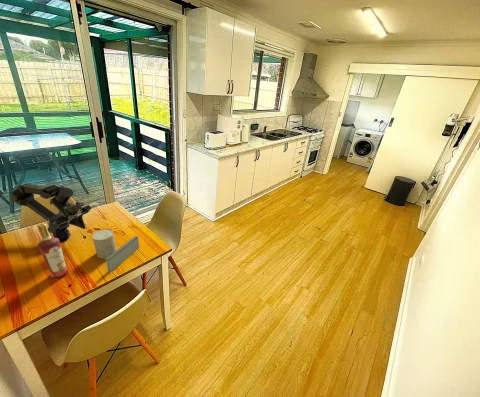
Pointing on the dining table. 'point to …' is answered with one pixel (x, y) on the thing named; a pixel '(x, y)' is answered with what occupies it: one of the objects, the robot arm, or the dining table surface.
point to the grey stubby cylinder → (104, 243)
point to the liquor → (52, 253)
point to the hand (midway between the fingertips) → (84, 228)
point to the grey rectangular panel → (122, 253)
